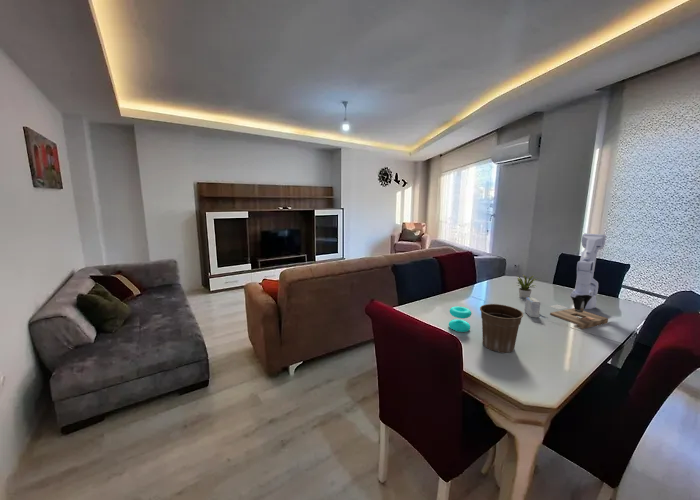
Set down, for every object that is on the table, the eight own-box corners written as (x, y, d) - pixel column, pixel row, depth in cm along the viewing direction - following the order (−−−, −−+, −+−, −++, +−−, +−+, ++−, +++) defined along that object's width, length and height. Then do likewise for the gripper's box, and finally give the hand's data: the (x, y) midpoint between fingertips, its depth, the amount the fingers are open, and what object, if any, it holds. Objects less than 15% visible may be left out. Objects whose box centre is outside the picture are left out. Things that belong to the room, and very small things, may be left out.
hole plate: (574, 312, 162) (574, 307, 162) (607, 323, 147) (608, 318, 147) (549, 317, 155) (550, 312, 155) (582, 329, 140) (583, 323, 140)
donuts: (476, 311, 137) (460, 314, 133) (474, 330, 138) (458, 334, 134) (460, 304, 146) (445, 307, 142) (459, 323, 147) (444, 326, 143)
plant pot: (500, 359, 113) (504, 320, 110) (468, 341, 128) (471, 306, 125) (528, 351, 119) (532, 314, 117) (495, 335, 134) (498, 301, 131)
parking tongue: (557, 306, 170) (558, 304, 170) (568, 310, 165) (568, 307, 165) (548, 308, 168) (548, 306, 167) (559, 312, 162) (559, 309, 162)
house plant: (539, 297, 187) (542, 273, 184) (539, 304, 175) (542, 278, 173) (514, 294, 194) (516, 270, 192) (513, 299, 183) (515, 274, 180)
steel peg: (577, 309, 153) (579, 298, 152) (584, 311, 150) (586, 300, 149) (573, 310, 152) (574, 299, 151) (580, 312, 148) (581, 301, 148)
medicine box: (539, 317, 154) (540, 302, 153) (529, 317, 155) (531, 301, 154) (532, 312, 162) (534, 297, 161) (524, 311, 163) (525, 297, 161)
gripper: (583, 280, 154) (580, 304, 157) (565, 282, 149) (562, 307, 151) (598, 283, 148) (594, 308, 150) (580, 286, 143) (576, 312, 145)
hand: (579, 308), depth 150 cm, fingers closed on steel peg, 3 cm apart
